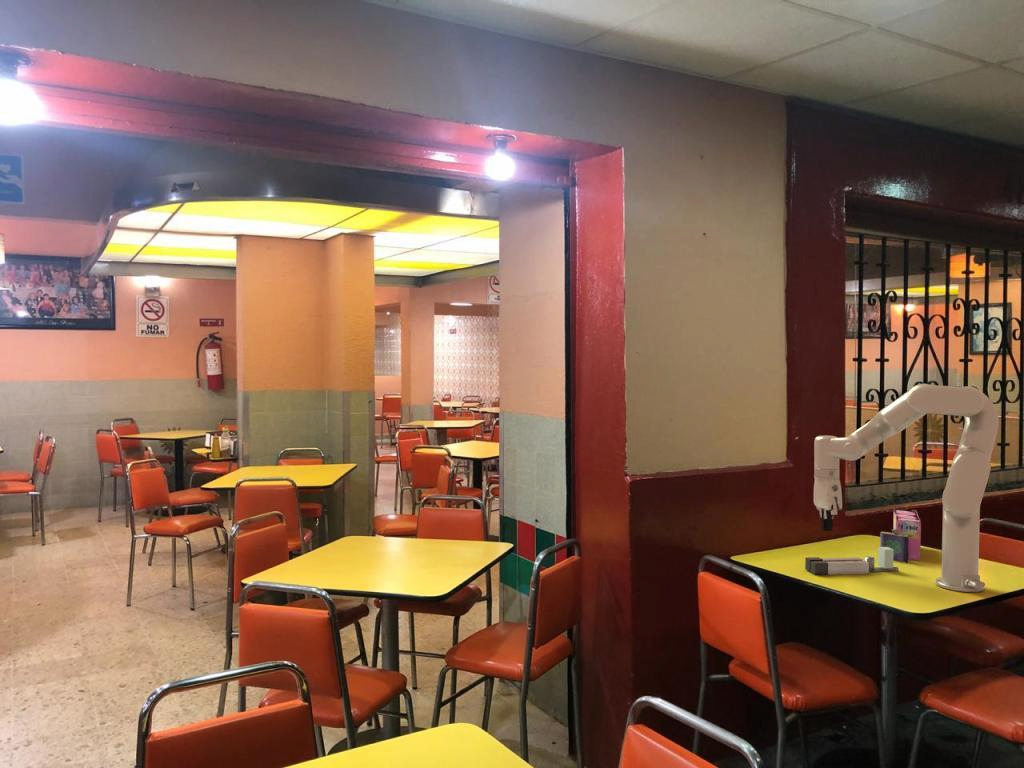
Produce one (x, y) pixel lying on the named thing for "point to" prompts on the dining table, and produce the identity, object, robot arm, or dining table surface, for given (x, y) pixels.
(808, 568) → the tong leg
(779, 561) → the dining table surface
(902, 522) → the gum box
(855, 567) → the base
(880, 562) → the white upright block
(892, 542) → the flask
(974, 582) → the robot arm
